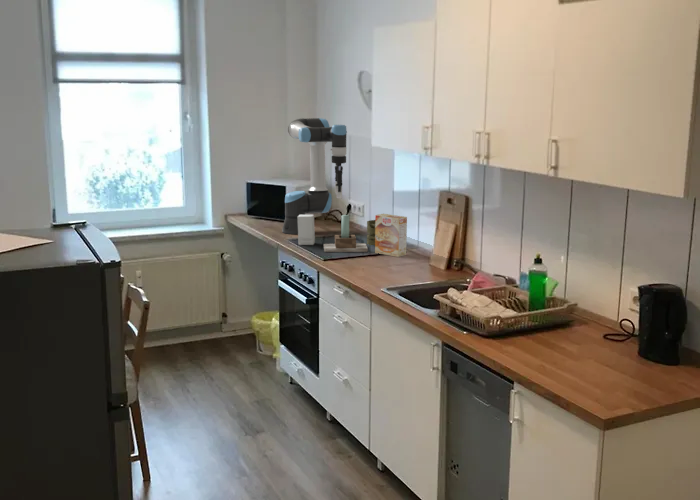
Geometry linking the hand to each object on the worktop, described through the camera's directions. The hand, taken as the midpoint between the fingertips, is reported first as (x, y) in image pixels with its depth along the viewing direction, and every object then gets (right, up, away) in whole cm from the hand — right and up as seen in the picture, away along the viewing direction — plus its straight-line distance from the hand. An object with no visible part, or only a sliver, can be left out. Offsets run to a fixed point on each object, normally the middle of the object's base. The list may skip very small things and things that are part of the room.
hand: (338, 196), depth 395 cm
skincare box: (-17, -25, +10) cm, 32 cm away
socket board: (+4, -27, -2) cm, 28 cm away
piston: (+21, -25, +12) cm, 34 cm away
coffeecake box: (+26, -30, -13) cm, 42 cm away
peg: (+4, -26, -2) cm, 26 cm away
